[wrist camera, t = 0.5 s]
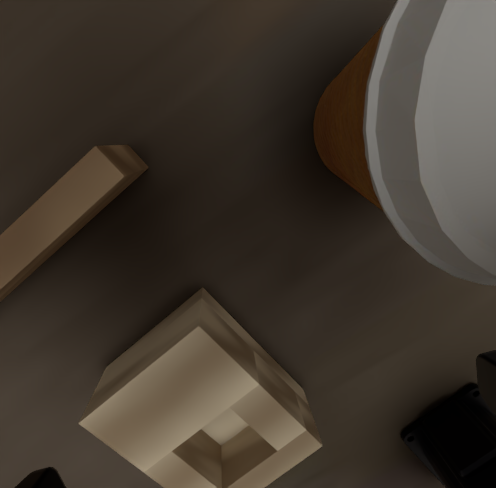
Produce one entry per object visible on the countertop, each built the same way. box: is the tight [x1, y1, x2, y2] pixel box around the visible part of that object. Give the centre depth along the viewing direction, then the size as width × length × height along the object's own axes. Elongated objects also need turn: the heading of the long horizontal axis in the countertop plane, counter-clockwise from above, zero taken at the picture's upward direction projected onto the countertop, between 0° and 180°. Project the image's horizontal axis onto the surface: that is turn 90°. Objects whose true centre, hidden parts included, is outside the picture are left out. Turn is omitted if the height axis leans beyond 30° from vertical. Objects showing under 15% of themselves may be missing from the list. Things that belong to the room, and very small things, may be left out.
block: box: [79, 287, 323, 488], centre depth 20 cm, size 10×8×4 cm
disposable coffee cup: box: [313, 0, 496, 286], centre depth 13 cm, size 10×10×12 cm
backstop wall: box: [0, 145, 149, 302], centre depth 16 cm, size 2×13×5 cm, turn 130°
